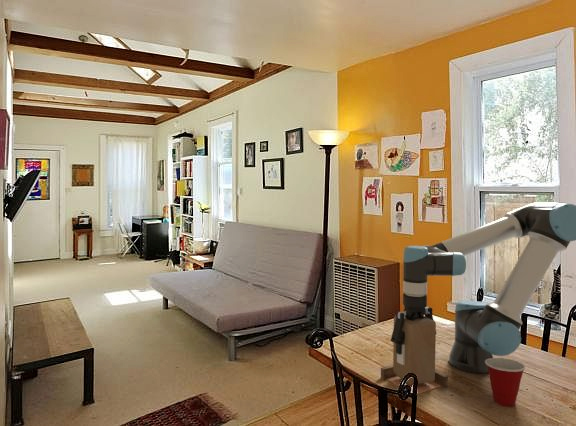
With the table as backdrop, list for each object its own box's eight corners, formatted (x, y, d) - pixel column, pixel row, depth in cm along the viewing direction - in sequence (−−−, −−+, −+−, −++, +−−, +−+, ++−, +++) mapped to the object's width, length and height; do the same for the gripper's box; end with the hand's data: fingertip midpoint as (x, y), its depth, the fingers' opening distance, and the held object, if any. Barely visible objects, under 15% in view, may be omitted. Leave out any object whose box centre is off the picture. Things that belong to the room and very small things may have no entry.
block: (436, 381, 132) (437, 320, 131) (409, 386, 129) (410, 324, 128) (417, 369, 142) (417, 312, 141) (391, 373, 139) (392, 315, 137)
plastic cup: (511, 392, 129) (512, 354, 129) (532, 410, 119) (533, 370, 118) (477, 392, 129) (478, 355, 128) (495, 411, 118) (496, 370, 117)
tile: (413, 372, 144) (413, 371, 144) (440, 386, 133) (440, 385, 133) (387, 379, 138) (387, 378, 138) (413, 395, 127) (413, 394, 127)
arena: (413, 368, 146) (413, 359, 146) (447, 386, 133) (447, 375, 133) (380, 377, 139) (380, 367, 139) (413, 397, 126) (413, 386, 126)
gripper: (431, 287, 143) (430, 349, 144) (379, 295, 132) (378, 362, 133) (449, 292, 136) (447, 357, 137) (396, 301, 125) (395, 371, 126)
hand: (413, 359), depth 135 cm, fingers closed on block, 11 cm apart
